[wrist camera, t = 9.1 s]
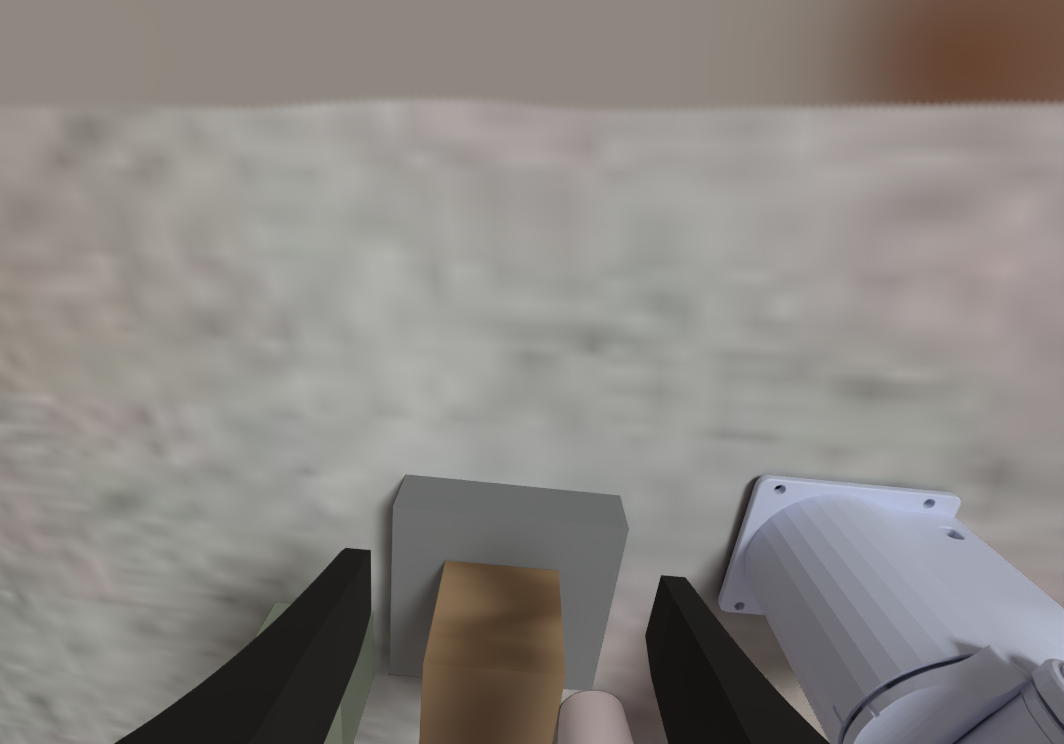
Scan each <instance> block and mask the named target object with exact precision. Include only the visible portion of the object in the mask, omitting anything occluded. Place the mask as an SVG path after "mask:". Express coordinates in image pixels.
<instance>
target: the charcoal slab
mask: <svg viewBox="0 0 1064 744" xmlns="http://www.w3.org/2000/svg"><path fill="white" fill-rule="evenodd" d="M628 530H629V528H628V524H627V521H626V517H625V513H624V510H623V506H622V502H621V498H620V496H618V495H608V494H598V493H587V492H577V491H567V490H557V489H547V488H537V487H527V486H517V485H507V484H497V483H487V482H477V481H467V480H456V479H446V478H436V477H426V476H416V475H405V478H404V480H403V482H402V485H401V487H400V490H399V492H398V495H397V497H396V500H395V502H394V505H393V523H392V572H391V621H390V670H389V675H399V676H412V677H423V662H424V658H425V653H426V649H427V644H428V639H429V635H430V630H431V625H432V621H433V616H434V611H435V607H436V602H437V597H438V593H439V588H440V583H441V579H442V574H443V569H444V565H445V561H456V562H468V563H479V564H490V565H502V566H513V567H524V568H536V569H547V570H558V571H559V582H560V597H561V612H562V627H563V642H564V657H565V672H566V677H565V682H564V687H563V689H572V690H584V691H591V690H592V685H593V681H594V677H595V673H596V668H597V664H598V660H599V655H600V651H601V647H602V642H603V638H604V634H605V629H606V625H607V621H608V616H609V612H610V608H611V603H612V599H613V595H614V590H615V586H616V582H617V577H618V573H619V569H620V564H621V560H622V556H623V551H624V547H625V543H626V538H627V534H628Z"/></svg>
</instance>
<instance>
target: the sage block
mask: <svg viewBox="0 0 1064 744" xmlns="http://www.w3.org/2000/svg"><path fill="white" fill-rule="evenodd" d="M290 605H291V604H290V603H278V602H276V603H275V604H274V606H273V608H272V609H271V611H270V613H269V615H268V616H267V618H266V620H265V621H264V623H263V625H262V627H261V628H260V630H259V632H258V633H257V635H256V637H257V636H258V635H259V634H260V633H262V632H263V631H264V630H265V629H266V628H267V627H268V626H269V625H270V624H271V623H272V622H274V621H275V620H276V619H277V618H278V617H279V616H280V615H281V614H282V613H283V612H284V611H285V610H286V609H287V608H288V607H289V606H290ZM256 637H255V638H256ZM373 678H374V666H373V610H371V616H370V620H369V623H368V627H367V630H366V634H365V638H364V641H363V644H362V648H361V651H360V655H359V658H358V660H357V663H356V665H355V668H354V670H353V673H352V675H351V678H350V680H349V683H348V685H347V688H346V690H345V693H344V695H343V698H342V700H341V703H340V705H339V708H338V710H337V713H336V715H335V718H334V720H333V723H332V725H331V727H330V730H329V732H328V735H327V737H326V740H325V742H324V744H353V743H354V739H355V736H356V733H357V730H358V726H359V723H360V720H361V717H362V713H363V710H364V707H365V704H366V700H367V697H368V694H369V691H370V687H371V684H372V681H373Z"/></svg>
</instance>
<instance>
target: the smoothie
mask: <svg viewBox="0 0 1064 744" xmlns="http://www.w3.org/2000/svg"><path fill="white" fill-rule="evenodd" d="M557 744H634V743H633V740H632V736H631V733H630V730H629V726H628V723H627V719H626V716H625V713H624V709H623V706H622V704H621V702H620V701H619V700H618V699H617V698H616V697H615V696H613V695H611V694H609V693H606V692H602V691H584V692H580V693H577V694H574V695H572V696H571V697H569V698H568V699H567V700H565V702H564V703H563V704H562V706H561V708H560V714H559V728H558V742H557Z"/></svg>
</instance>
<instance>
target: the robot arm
mask: <svg viewBox="0 0 1064 744" xmlns="http://www.w3.org/2000/svg"><path fill="white" fill-rule="evenodd" d="M778 485H782V486H781V487H780V488H779V489H775V487H776V486H778ZM774 489H775V490H774ZM926 500H927V502H925V501H926ZM924 502H925V503H924ZM960 504H961V502H960V499H959V498H958V497H957V496H955V495H954V494H953V493H950V492H941V491H931V490H920V489H910V488H899V487H889V486H878V485H868V484H857V483H847V482H836V481H826V480H815V479H805V478H794V477H784V476H773V475H764V476H762V477H760V478H759V479H758V480H757V481H756V483H755V486H754V489H753V492H752V495H751V498H750V501H749V504H748V507H747V510H746V514H745V517H744V520H743V523H742V526H741V529H740V532H739V535H738V538H737V541H736V545H735V548H734V551H733V554H732V557H731V560H730V563H729V566H728V569H727V572H726V576H725V579H724V582H723V585H722V588H721V591H720V594H719V597H718V604H719V606H720V608H721V610H723V611H725V612H732V613H744V614H756V615H764V616H765V618H766V620H767V622H768V624H769V626H770V628H771V629H772V631H773V633H774V635H775V637H776V639H777V641H778V643H779V645H780V647H781V649H782V651H783V653H784V655H785V657H786V659H787V661H788V663H789V665H790V666H791V668H792V670H793V672H794V674H795V676H796V678H797V680H798V682H799V684H800V686H801V688H802V690H803V692H804V694H805V696H806V698H807V700H808V702H809V703H810V705H811V707H812V709H813V711H814V713H815V715H816V717H817V719H818V721H819V723H820V725H821V727H822V729H823V731H824V733H825V735H826V737H827V738H828V740H829V742H830V743H829V742H828V741H827V740H826V739H825V738H824V737H822V736H821V735H820V734H819V733H818V732H817V731H816V730H815V729H814V728H813V727H812V726H811V725H810V724H809V723H808V722H807V721H806V720H805V719H804V718H803V717H802V716H801V715H800V714H799V713H798V712H797V711H796V710H795V709H794V708H793V707H792V706H791V705H790V704H789V703H788V702H787V701H786V700H785V699H784V698H783V697H782V695H781V694H780V693H779V692H778V691H777V690H776V689H775V688H774V687H773V686H772V685H771V683H770V682H769V681H768V680H767V679H766V678H765V677H764V676H763V674H762V673H761V672H760V671H759V670H758V669H757V668H756V667H755V665H754V664H753V663H752V662H751V661H750V659H749V658H748V657H747V656H746V655H745V653H744V652H743V651H742V650H741V648H740V647H739V646H738V645H737V644H736V642H735V641H734V640H733V639H732V637H731V636H730V635H729V634H728V632H727V631H726V630H725V629H724V627H723V626H722V625H721V624H720V622H719V621H718V620H717V618H716V617H715V616H714V614H713V613H712V612H711V611H710V609H709V608H708V607H707V605H706V604H705V603H704V601H703V600H702V599H701V597H700V596H699V595H698V593H697V592H696V591H695V589H694V588H693V587H692V586H691V584H690V583H689V582H688V580H687V579H686V578H685V577H675V576H663V575H661V578H660V582H659V585H658V589H657V593H656V597H655V601H654V604H653V608H652V612H651V616H650V620H649V623H648V627H647V631H646V635H645V637H646V644H647V651H648V659H649V665H650V672H651V678H652V682H653V686H654V690H655V694H656V698H657V702H658V706H659V710H660V714H661V717H662V721H663V725H664V729H665V732H666V736H667V740H668V744H1064V609H1063V608H1062V607H1061V606H1060V605H1059V604H1057V603H1056V602H1055V601H1054V600H1053V599H1051V598H1050V597H1049V596H1048V595H1047V594H1046V593H1044V592H1043V591H1042V590H1041V589H1040V588H1038V587H1037V586H1036V585H1035V584H1034V583H1032V582H1031V581H1030V580H1029V579H1028V578H1026V577H1025V576H1024V575H1023V574H1022V573H1020V572H1019V571H1018V570H1017V569H1016V568H1015V567H1013V566H1012V565H1011V564H1010V563H1009V562H1007V561H1006V560H1005V559H1004V558H1003V557H1001V556H1000V555H999V554H998V553H997V552H995V551H994V550H993V549H992V548H991V547H989V546H988V545H987V544H986V543H985V542H983V541H982V540H981V539H980V538H979V537H978V536H976V535H975V534H974V533H973V532H972V531H970V530H969V529H968V528H967V527H966V526H964V525H963V524H962V523H961V522H960V521H958V520H957V519H956V518H955V515H956V513H957V511H958V509H959V507H960ZM738 602H740V603H738ZM736 603H738V604H736ZM370 616H371V550H362V549H351V548H345V549H344V550H342V551H341V552H340V553H339V554H338V555H337V556H336V558H335V559H334V560H333V561H332V562H331V563H330V564H329V565H328V566H327V568H326V569H325V570H324V571H323V572H322V573H321V574H320V575H319V576H318V577H317V578H316V579H315V580H314V582H313V583H312V584H311V585H310V586H309V587H308V588H307V589H306V590H305V591H304V592H303V593H302V594H301V595H300V596H299V597H298V598H297V599H296V600H295V601H294V602H293V603H292V604H291V605H290V606H289V607H288V608H287V609H286V610H285V611H284V612H283V613H282V614H281V615H280V616H279V617H278V618H277V619H276V620H275V621H274V622H272V623H271V624H270V625H269V626H268V627H267V628H266V629H265V630H264V631H263V632H262V633H260V634H259V635H258V636H257V637H256V638H255V639H254V640H253V641H252V642H251V643H249V644H248V645H247V646H246V647H245V648H244V649H243V650H241V651H240V652H239V653H238V654H237V655H236V656H234V657H233V658H232V659H231V660H230V661H228V662H227V663H226V664H225V665H224V666H222V667H221V668H220V669H219V670H217V671H216V672H215V673H214V674H212V675H211V676H210V677H209V678H207V679H206V680H205V681H204V682H202V683H201V684H200V685H198V686H197V687H196V688H194V689H193V690H192V691H190V692H189V693H187V694H186V695H185V696H183V697H182V698H181V699H179V700H178V701H177V702H175V703H174V704H173V705H171V706H170V707H168V708H167V709H166V710H164V711H163V712H161V713H160V714H159V715H157V716H156V717H154V718H153V719H151V720H150V721H148V722H147V723H145V724H144V725H142V726H141V727H139V728H138V729H136V730H135V731H133V732H132V733H130V734H128V735H127V736H125V737H124V738H122V739H121V740H119V741H118V742H116V743H115V744H324V742H325V740H326V737H327V735H328V732H329V730H330V727H331V725H332V723H333V720H334V718H335V715H336V713H337V710H338V708H339V705H340V703H341V700H342V698H343V695H344V693H345V690H346V688H347V685H348V683H349V680H350V678H351V675H352V673H353V670H354V668H355V665H356V663H357V660H358V658H359V655H360V651H361V648H362V644H363V641H364V638H365V634H366V630H367V627H368V623H369V620H370Z"/></svg>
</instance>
